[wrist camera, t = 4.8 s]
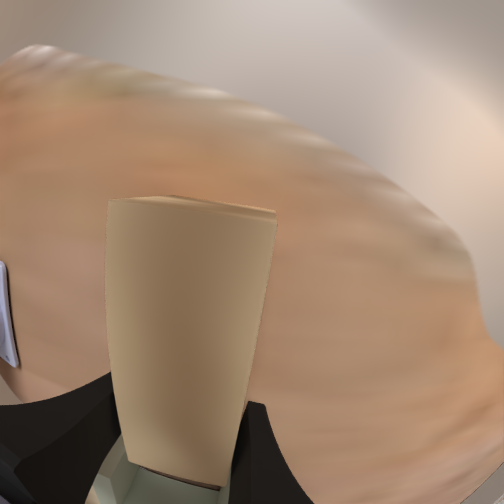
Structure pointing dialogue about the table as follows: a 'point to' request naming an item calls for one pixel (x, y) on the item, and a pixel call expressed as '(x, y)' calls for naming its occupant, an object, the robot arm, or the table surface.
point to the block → (147, 484)
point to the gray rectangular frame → (489, 490)
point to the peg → (184, 326)
